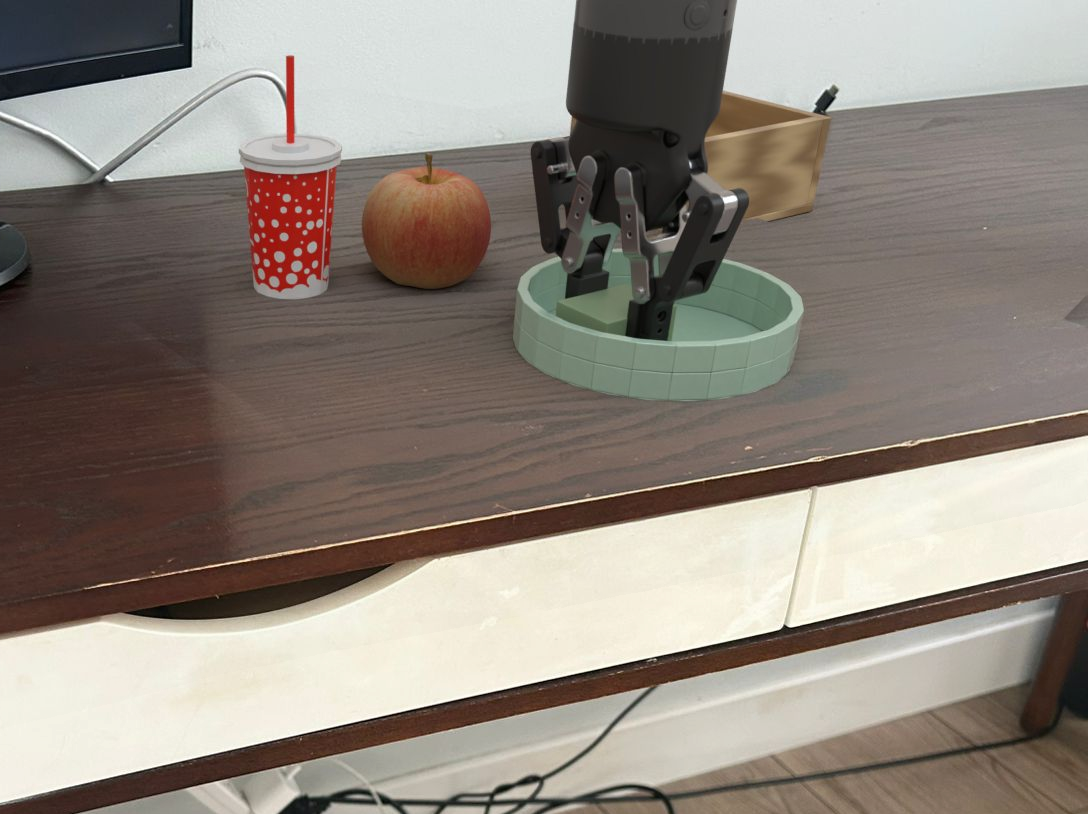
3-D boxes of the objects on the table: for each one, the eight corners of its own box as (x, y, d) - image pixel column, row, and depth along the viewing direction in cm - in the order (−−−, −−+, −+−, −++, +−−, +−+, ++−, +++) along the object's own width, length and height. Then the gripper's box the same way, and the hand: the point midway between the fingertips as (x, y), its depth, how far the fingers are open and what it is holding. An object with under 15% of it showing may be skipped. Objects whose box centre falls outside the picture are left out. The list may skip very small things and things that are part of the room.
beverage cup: (285, 270, 89) (283, 41, 81) (359, 290, 86) (365, 54, 78) (222, 295, 85) (214, 58, 77) (297, 318, 82) (297, 72, 74)
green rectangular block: (618, 334, 78) (625, 283, 76) (669, 357, 75) (677, 305, 73) (551, 352, 76) (556, 300, 74) (600, 377, 73) (607, 323, 71)
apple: (362, 261, 90) (365, 137, 86) (484, 263, 90) (493, 138, 85) (358, 304, 84) (360, 172, 79) (489, 307, 83) (499, 174, 79)
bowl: (652, 288, 86) (660, 233, 84) (850, 369, 75) (864, 307, 73) (458, 336, 79) (462, 278, 77) (645, 433, 68) (655, 368, 66)
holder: (694, 174, 107) (708, 86, 104) (812, 211, 99) (831, 117, 95) (562, 201, 101) (571, 109, 98) (675, 243, 93) (690, 144, 89)
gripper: (825, 31, 62) (757, 380, 72) (610, -11, 73) (575, 299, 82) (706, 49, 59) (652, 412, 68) (499, 2, 69) (476, 324, 79)
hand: (610, 349), depth 75 cm, fingers closed on green rectangular block, 4 cm apart
